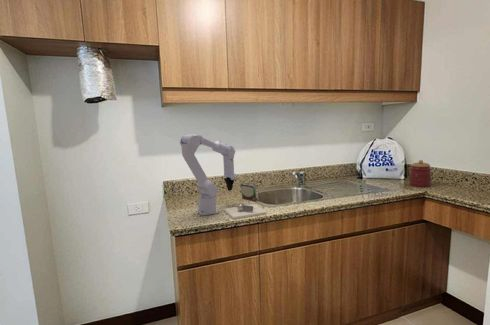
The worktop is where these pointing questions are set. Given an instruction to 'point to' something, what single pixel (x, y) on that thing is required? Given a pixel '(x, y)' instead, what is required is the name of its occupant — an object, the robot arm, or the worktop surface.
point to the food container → (248, 191)
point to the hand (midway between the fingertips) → (229, 190)
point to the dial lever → (244, 207)
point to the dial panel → (244, 212)
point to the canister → (420, 174)
